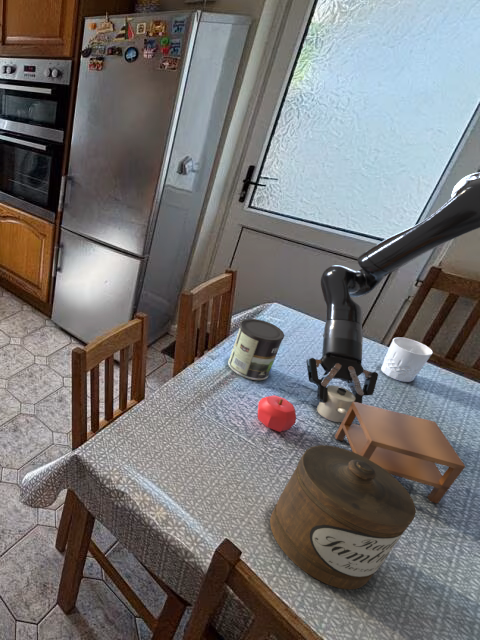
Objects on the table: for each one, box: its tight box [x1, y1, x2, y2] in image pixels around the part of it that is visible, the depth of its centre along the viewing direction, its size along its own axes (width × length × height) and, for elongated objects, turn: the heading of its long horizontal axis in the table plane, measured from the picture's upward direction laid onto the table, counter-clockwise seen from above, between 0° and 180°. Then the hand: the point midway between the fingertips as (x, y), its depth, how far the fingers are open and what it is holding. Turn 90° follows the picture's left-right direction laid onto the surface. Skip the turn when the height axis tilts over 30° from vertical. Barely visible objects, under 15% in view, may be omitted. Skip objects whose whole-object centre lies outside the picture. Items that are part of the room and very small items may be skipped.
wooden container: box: [269, 444, 417, 590], centre depth 72 cm, size 15×15×22 cm
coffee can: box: [227, 318, 285, 381], centre depth 118 cm, size 10×10×14 cm
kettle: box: [316, 384, 356, 423], centre depth 102 cm, size 8×6×8 cm
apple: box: [257, 394, 297, 433], centre depth 101 cm, size 8×8×8 cm
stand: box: [334, 401, 466, 504], centre depth 89 cm, size 14×12×11 cm
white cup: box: [380, 336, 434, 383], centre depth 115 cm, size 8×8×10 cm
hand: (338, 406), depth 102 cm, fingers closed on kettle, 5 cm apart
